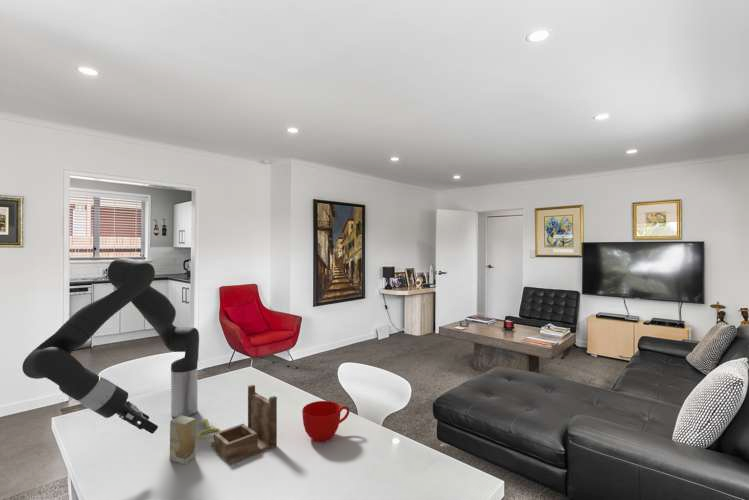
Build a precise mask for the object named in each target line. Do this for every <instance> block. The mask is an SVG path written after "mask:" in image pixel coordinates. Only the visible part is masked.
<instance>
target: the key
mask: <svg viewBox="0 0 749 500" xmlns="http://www.w3.org/2000/svg"><path fill="white" fill-rule="evenodd" d="M199 423H200V425H201V424H202V425H203V424H204V425H205V428H204V430H201V431H200V432H198V433H197V438H198V439H200V440H203V439H204V440H205V439H211V438H214V434H211V435H205V434H210V433H213V432H214V433H217V432H220V431H221V429H220V428H218V427H215V428H214V427H213V428H212V427H211V426H210V423H209V419H207V418H205V419H204V420H201V421H199Z"/></svg>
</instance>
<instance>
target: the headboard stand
mask: <svg viewBox="0 0 749 500" xmlns="http://www.w3.org/2000/svg"><path fill="white" fill-rule="evenodd" d="M277 401H278V396H276V395H274V396H272V395H271V396H270V397H268V398H266V397H265V396H263V395H261V394H259V393H258V392H256V385H254V384H250V385H248V386H247V425H246V424H245V423H240V424H238V425H235V426H232V427H229V428H226V429H224V430H220V432H214V433H213V435H214V437H213V442H211V443H210V447H211V448H212V450H214V451H215V452H216V453H217V454H218V455H219V456H220V457H222V458H223V459H224V460H225V461H226V462H227V463H228V464H229V465H233V464H236V463H238V462H241V461H243V460H246V459H248V458H251V457H253V456H256V455H257V454H261V453H263V452H265V451H268V450H270V449H272V448H275V447H278V445H277V444H278V441H277V440H278V431H277V430H278V428H277V427H278V426H277V425H278V422H277V421H278V417H277V415H278V411H277V409H278V406H277V405H278V403H277Z"/></svg>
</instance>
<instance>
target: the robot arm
mask: <svg viewBox="0 0 749 500" xmlns="http://www.w3.org/2000/svg"><path fill="white" fill-rule="evenodd" d="M155 270H156V269H155V267H154V265H152V264H151V263H149V262H147V261H142V260H138V259H133V258H130V257H129V258H128V257H120V258H116V259H114V260H112V262H110V264H109V265H108V267H107V278H108V281H109V282H110V284H111V285H112V286H113V287H114V288H116V289H115V290H113V291H112V292H110V293H109V294H107V295H105V296H103V297H101V298H99V299H97V300H94V301H93V302H91V303H88V304H86V305H85V306H83V307H82V308H80V309H79V310H77V311H76V312H74V314H73V315H72V316H71V317H70V318H68V319H67V321H65V323H63V324H62V325H61V326H60V328H59V329H58V330H56V332H54V333H53V334H52V335H51V336H49V337H48V338H47V339H46V340H44V341H43V342H41V344H39V345H38V346H36V348H34V349H33V350H32V351H31V352H30V353H29V354H27V356H26V358H25V359H24V360H23V362H22V372H23V373H24V375H25V376H26V377H27V378H30V379H33V380H34V379H35V380H36V379H37V380H39V379H48V380H49V381H50V382H52V383H53V384H55V385H57V386H58V389H59V390H60V391H61V392H62V393H63V394H65V395H66V396H68V397H70V398H71V399H73V400H75V401H77V402H79V404H81V405H82V406H84V407H85V408H87V409H89V410H90V411H92V412H94V413H95V414H98V415H99V416H101V417H104V418H105V419H109V418H111V417H114V415H117V416H118V418H119V419H121V420H122V421H126V422H128V424H129V425H132V426H134V427H136V428H137V429H139V430H145V431H147V432H149V433H150V434H154V433H155V432H156V431H157V429H159V426H158V425H157V424H156V423H154V422H152V421H150V416H149V415H147V414H146V413H144V412H143V411H141V410H140V409H139V408H138V407H137V405H135V404H134V403H132V402H131V401H129V400H128V398H129V392H127V391H126V390H124V389H122V388H121V387H119V386H118V385H116V384H115V383H114V382H112V381H111V380H108V379H107V378H104V377H102V376H100V375H98V374H97V373H95V372H94V371H92V370H90V369H88V368H86V367H85V366H84V365H83V364H82V363H81V362H80V361H79V360H78V359H77V358H76V357H74V356H73V355H72V354H71V353H73V352H74V351H75V350H77V349H79V348H81V347H82V346H83V345H85V344H86V343H87V342H88V341H89V340H90V339H91V337H92V336H94V334H96V333H97V332H98V330H99V329H100V328H101V327H102V326H103V325H104V324H105V323H106V322H107V321H108V320H110V318H111V317H113V316H114V315H115V314H116V313H118V312H119V311H121V310H122V309H123V308H124V307H126V305H128V304H129V303H130V302H131V304H133V306H134V307H135V308H136V309H137V310H138V311H139V313H140V314H141V316H143V318H144V319H145V320H146V321H147V323H148V324H150V326H151V327H152V328H153V329H154V331H155V332H156V333H157V334H158V335H159V337H160V339H161V340H162V343H163V344H164V346H165V347H166V348H167V350H168V351H171V352H174V353H184V357H182V358H178V359H177V360H174V361H173V362H171V363H170V364H171V365H170V384H171V385H170V394H171V395H170V401H171V402H170V404H171V405H170V407H171V408H170V414H171V417H173V418H177V417H179V416H181V415H183V416H186V417H190V416H192V415H194V414H196V413H197V412H198V361H199V352H200V351H199V350H200V349H199V346H200V334H199V330H198V328H196V327H178V326H175V325H174V324H173V323H174V322H175V318H176V315H177V313H176V312H177V311H176V308H175V306H174V305H173V304H172V302H171V301H170V299H169V298H168V297H167V296H166V295H165V294H163V293H162V292H160V291H159V290H158V289H156V288H154V287H153V286H151V284H152V283H153V282H154V279H155V275H156V271H155ZM138 422H140V423H138Z"/></svg>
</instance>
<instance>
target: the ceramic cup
mask: <svg viewBox="0 0 749 500" xmlns="http://www.w3.org/2000/svg"><path fill="white" fill-rule="evenodd" d="M344 409H346V413H345V415H344V416H343V417H342V418H341V413H342V411H343V410H344ZM301 413H302V422H303V423H302V424H303V427H304V430H305V433H306V434H307V436H308V437H309V439H311V440H312V442H315V443H326V442H328V441H330V440H332V437H333V436H335V434H336V433H337V431H338V428H339V425H340V424H341V423H343V422H344V421H345V420H346V419H347V418H348V417H349V414H350V407H348V406H346V405H342V406H341V405H340V404H339V403H337V402H335V401H331V400H320V401H319V400H318V401H313V402H310V403H307V404H306V405H304V406H303V408H302V412H301Z"/></svg>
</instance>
